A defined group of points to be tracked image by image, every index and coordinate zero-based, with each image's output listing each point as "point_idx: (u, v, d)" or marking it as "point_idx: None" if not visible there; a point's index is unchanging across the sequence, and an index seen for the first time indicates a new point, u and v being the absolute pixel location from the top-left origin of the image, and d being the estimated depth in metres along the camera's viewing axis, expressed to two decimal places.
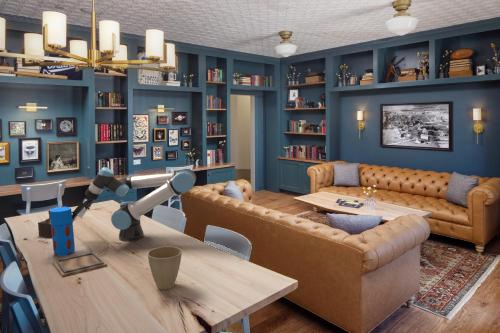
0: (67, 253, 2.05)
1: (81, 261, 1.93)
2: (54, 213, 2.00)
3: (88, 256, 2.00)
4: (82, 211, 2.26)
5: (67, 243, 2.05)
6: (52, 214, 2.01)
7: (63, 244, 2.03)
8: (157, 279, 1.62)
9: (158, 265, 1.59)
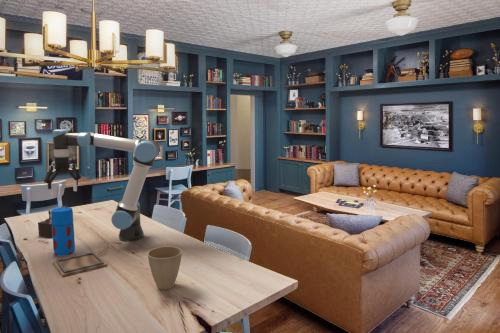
0: (67, 253, 2.06)
1: (81, 261, 1.93)
2: (55, 213, 2.01)
3: (88, 256, 2.00)
4: (74, 184, 2.21)
5: (68, 243, 2.05)
6: (53, 214, 2.01)
7: (64, 244, 2.04)
8: (157, 279, 1.62)
9: (158, 265, 1.59)
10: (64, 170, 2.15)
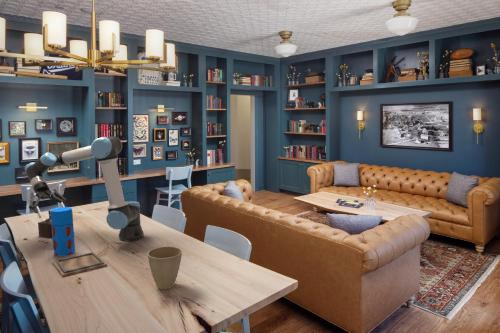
0: (67, 253, 2.06)
1: (81, 261, 1.93)
2: (55, 213, 2.01)
3: (88, 256, 2.00)
4: (61, 206, 2.19)
5: (68, 243, 2.05)
6: (53, 214, 2.01)
7: (64, 244, 2.04)
8: (157, 279, 1.62)
9: (158, 265, 1.59)
10: (46, 195, 2.17)
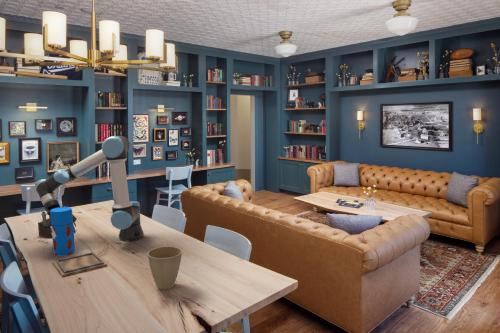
0: (67, 253, 2.06)
1: (81, 261, 1.93)
2: (55, 213, 2.01)
3: (88, 256, 2.00)
4: None
5: (67, 243, 2.05)
6: (53, 214, 2.01)
7: (64, 244, 2.04)
8: (157, 279, 1.62)
9: (158, 265, 1.59)
10: None
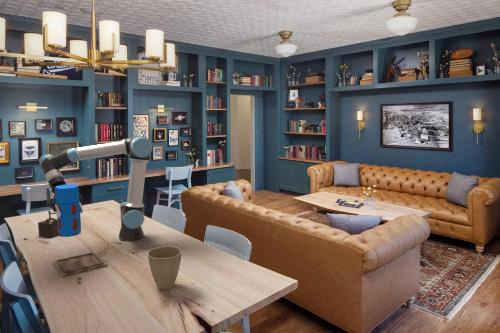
0: (73, 234, 1.90)
1: (81, 261, 1.93)
2: (60, 190, 1.85)
3: (88, 256, 2.00)
4: None
5: (73, 223, 1.89)
6: (58, 191, 1.85)
7: (69, 224, 1.88)
8: (157, 279, 1.62)
9: (158, 265, 1.59)
10: None
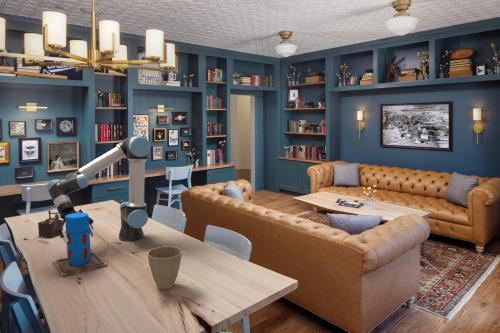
0: (83, 263, 1.88)
1: None
2: (70, 219, 1.84)
3: None
4: None
5: (83, 252, 1.88)
6: (68, 220, 1.84)
7: (79, 253, 1.86)
8: (157, 279, 1.62)
9: (158, 265, 1.59)
10: None
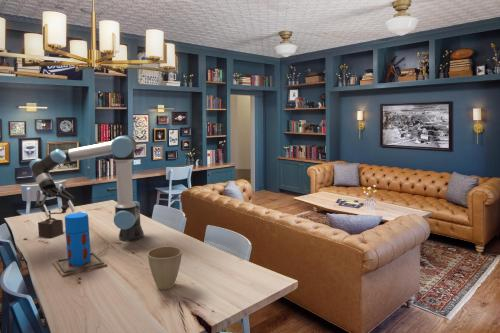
0: (83, 263, 1.88)
1: None
2: (70, 219, 1.84)
3: None
4: (69, 205, 2.07)
5: (83, 252, 1.88)
6: (68, 220, 1.84)
7: (79, 253, 1.86)
8: (157, 279, 1.62)
9: (158, 265, 1.59)
10: (53, 192, 2.05)
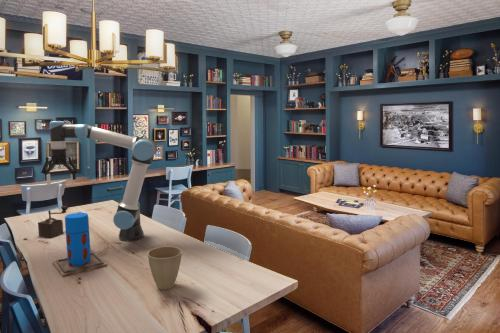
0: (83, 263, 1.88)
1: None
2: (70, 219, 1.84)
3: None
4: None
5: (83, 252, 1.88)
6: (68, 220, 1.84)
7: (79, 253, 1.86)
8: (157, 279, 1.62)
9: (158, 265, 1.59)
10: (59, 162, 2.11)
